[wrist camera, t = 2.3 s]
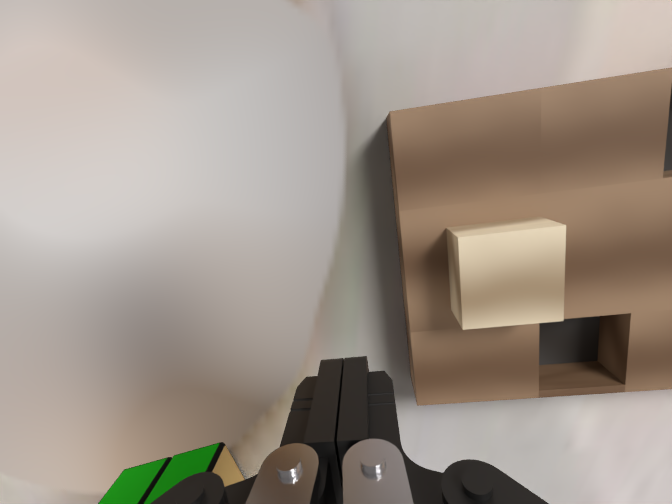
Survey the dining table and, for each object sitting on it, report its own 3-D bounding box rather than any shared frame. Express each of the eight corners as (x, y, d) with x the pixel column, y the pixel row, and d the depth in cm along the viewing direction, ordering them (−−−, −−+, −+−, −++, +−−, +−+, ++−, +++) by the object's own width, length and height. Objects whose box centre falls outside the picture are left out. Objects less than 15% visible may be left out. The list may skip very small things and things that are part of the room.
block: (446, 227, 19) (458, 237, 17) (540, 216, 19) (566, 225, 16) (451, 309, 21) (462, 329, 18) (539, 301, 20) (563, 321, 18)
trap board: (386, 118, 21) (389, 111, 18) (862, 44, 18) (956, 23, 15) (411, 377, 25) (417, 405, 23) (797, 348, 23) (860, 376, 20)
